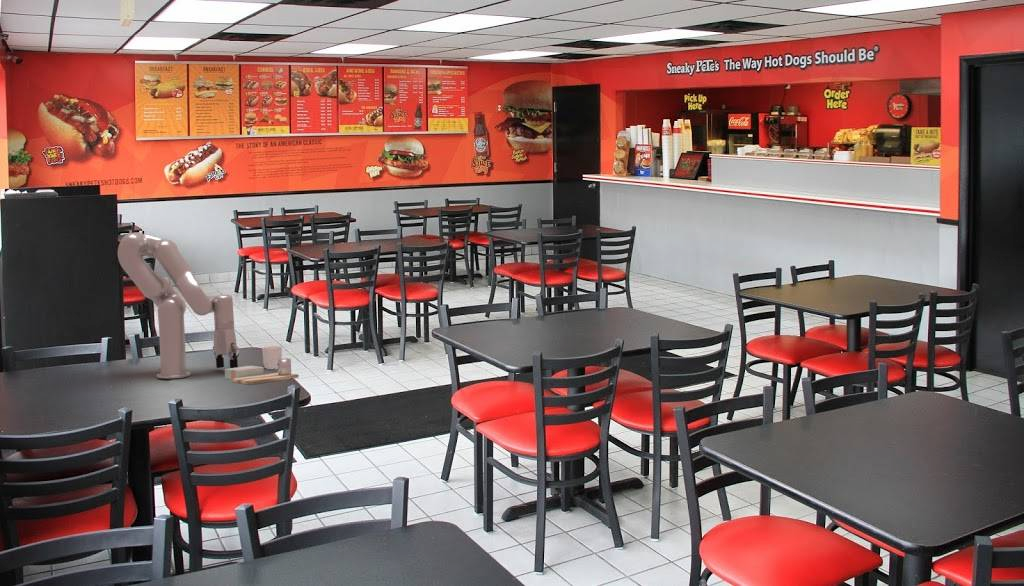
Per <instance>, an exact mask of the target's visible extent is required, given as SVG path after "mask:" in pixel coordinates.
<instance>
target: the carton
mask: <svg viewBox="0 0 1024 586" xmlns="http://www.w3.org/2000/svg"><path fill="white" fill-rule="evenodd" d="M262 374H265V371H264V366H257V365H245V366H238V367H237V368H230V367H229V368H224V379H225V380H229V381H232V379H234V378H241V377H248V376H255V375H262Z"/></svg>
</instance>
